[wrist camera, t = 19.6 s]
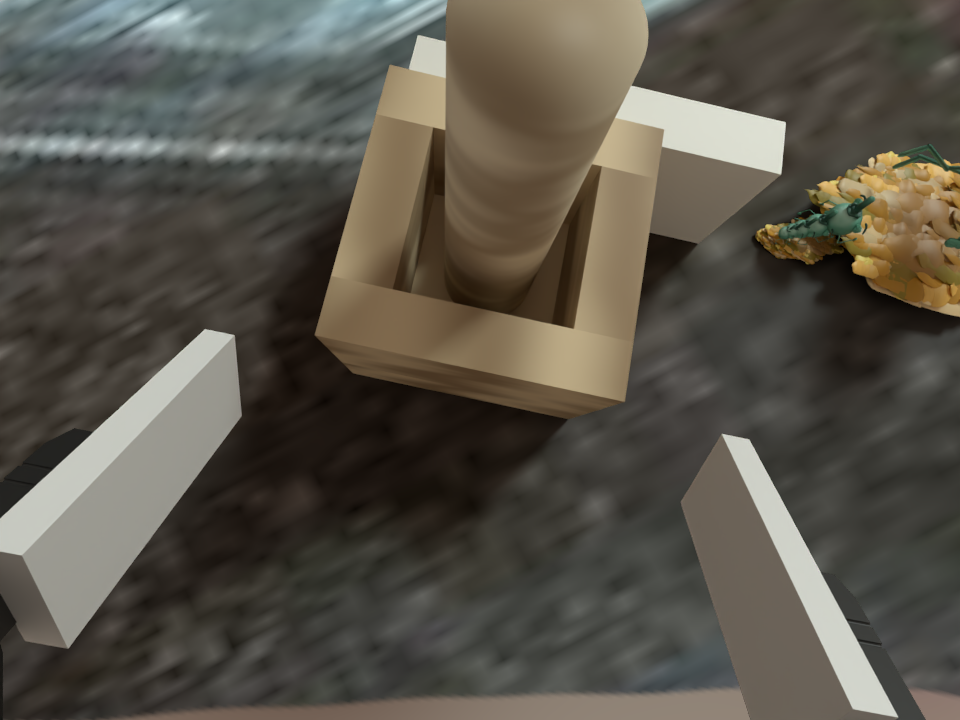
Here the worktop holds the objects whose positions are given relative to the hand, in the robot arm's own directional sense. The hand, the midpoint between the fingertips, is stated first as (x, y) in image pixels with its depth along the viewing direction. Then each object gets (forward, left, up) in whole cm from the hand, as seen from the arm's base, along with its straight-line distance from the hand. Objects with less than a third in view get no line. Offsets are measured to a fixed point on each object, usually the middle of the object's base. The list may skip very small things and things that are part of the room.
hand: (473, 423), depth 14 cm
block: (0, +8, -11) cm, 14 cm away
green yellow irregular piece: (+23, +17, -12) cm, 30 cm away
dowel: (0, +7, -8) cm, 11 cm away
